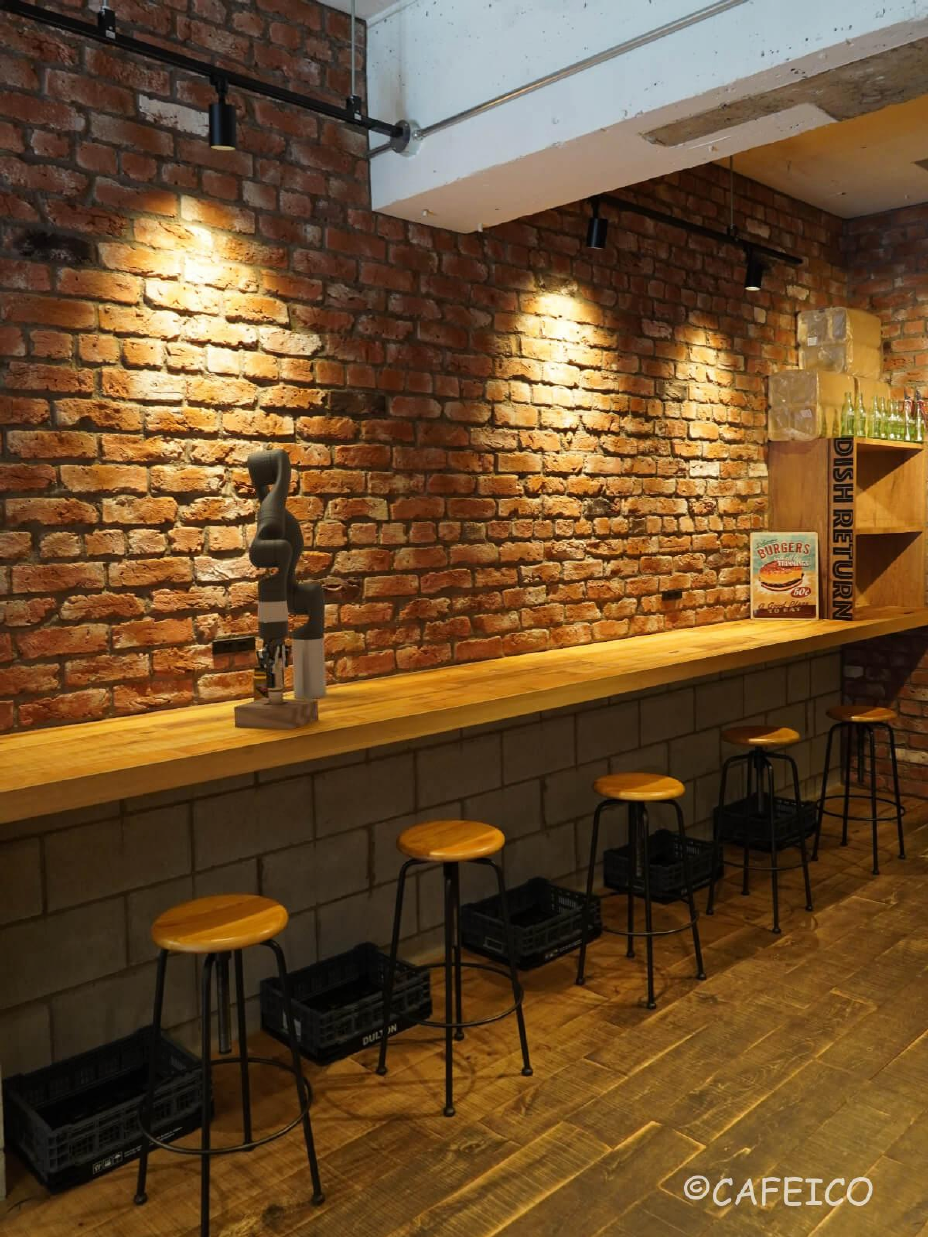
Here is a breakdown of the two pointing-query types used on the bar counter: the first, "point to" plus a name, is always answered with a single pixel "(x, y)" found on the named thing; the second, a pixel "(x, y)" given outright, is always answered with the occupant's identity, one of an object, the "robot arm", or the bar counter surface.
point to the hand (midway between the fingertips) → (275, 686)
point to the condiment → (259, 684)
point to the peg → (277, 686)
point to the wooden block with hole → (276, 714)
